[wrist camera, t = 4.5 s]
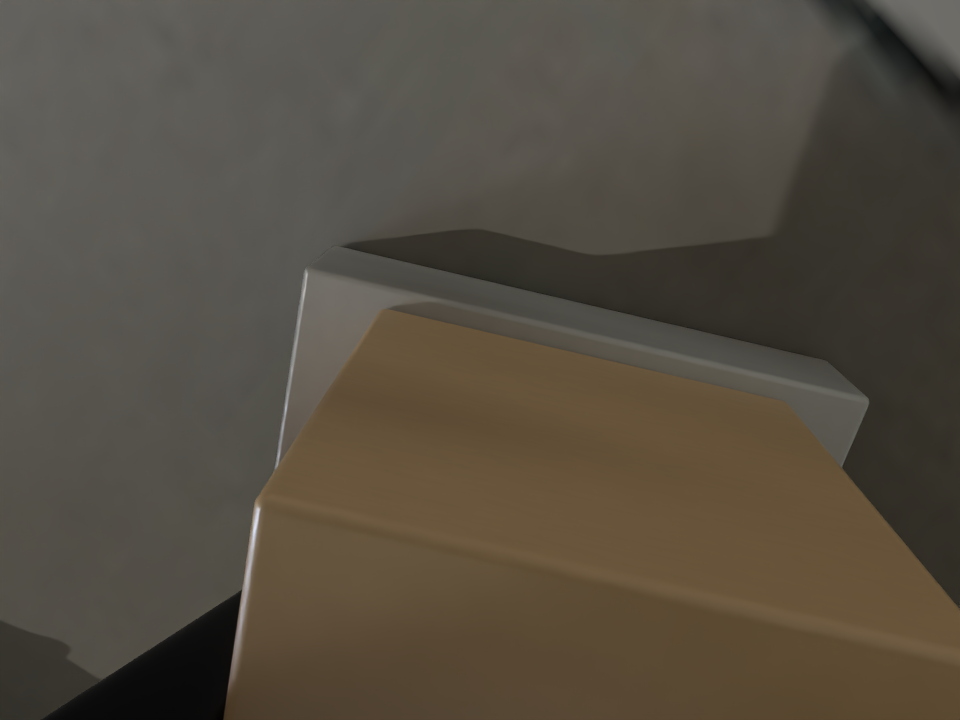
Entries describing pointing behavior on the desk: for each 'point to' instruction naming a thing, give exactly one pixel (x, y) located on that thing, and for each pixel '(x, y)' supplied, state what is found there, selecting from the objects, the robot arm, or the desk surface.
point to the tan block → (568, 523)
